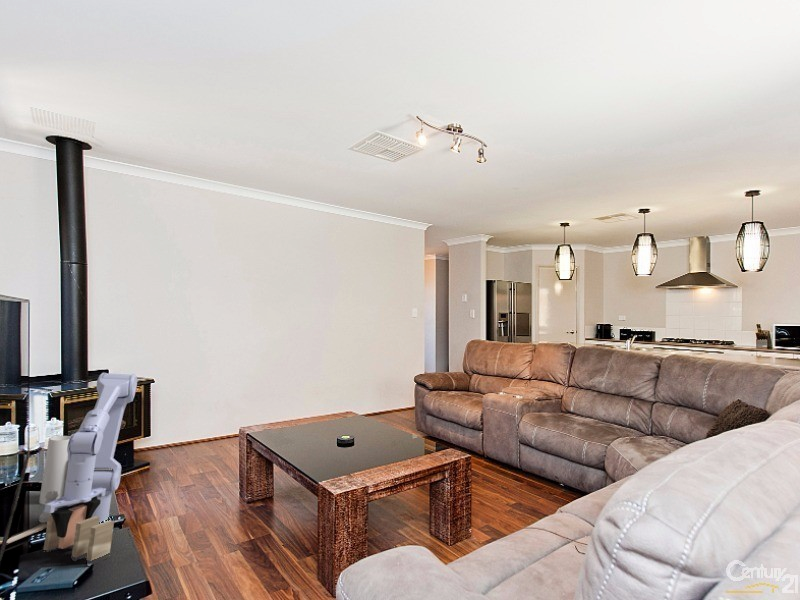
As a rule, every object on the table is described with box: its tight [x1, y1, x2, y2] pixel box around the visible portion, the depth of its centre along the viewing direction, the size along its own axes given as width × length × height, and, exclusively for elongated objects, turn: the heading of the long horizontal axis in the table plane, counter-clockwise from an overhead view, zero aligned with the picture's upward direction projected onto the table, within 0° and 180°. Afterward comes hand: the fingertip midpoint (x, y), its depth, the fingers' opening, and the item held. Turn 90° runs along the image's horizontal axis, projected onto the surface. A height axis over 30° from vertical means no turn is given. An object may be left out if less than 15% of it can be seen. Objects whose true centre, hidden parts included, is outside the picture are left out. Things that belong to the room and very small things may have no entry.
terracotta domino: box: [58, 505, 87, 550], centre depth 116 cm, size 2×5×9 cm, turn 161°
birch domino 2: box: [71, 516, 100, 558], centre depth 115 cm, size 2×5×9 cm, turn 162°
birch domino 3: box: [86, 519, 115, 561], centre depth 113 cm, size 2×5×9 cm, turn 162°
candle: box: [38, 435, 71, 506], centre depth 148 cm, size 11×7×20 cm, turn 120°
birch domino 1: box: [43, 514, 60, 550], centre depth 118 cm, size 2×5×9 cm, turn 162°
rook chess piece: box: [38, 491, 59, 524], centre depth 133 cm, size 4×4×8 cm
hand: (72, 532), depth 116 cm, fingers closed on terracotta domino, 5 cm apart
